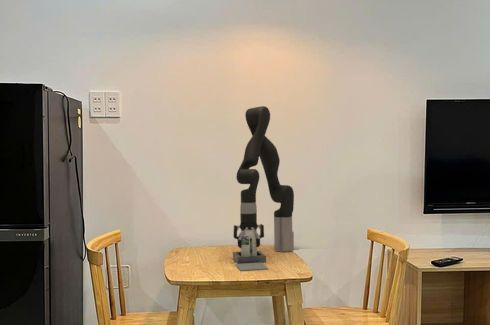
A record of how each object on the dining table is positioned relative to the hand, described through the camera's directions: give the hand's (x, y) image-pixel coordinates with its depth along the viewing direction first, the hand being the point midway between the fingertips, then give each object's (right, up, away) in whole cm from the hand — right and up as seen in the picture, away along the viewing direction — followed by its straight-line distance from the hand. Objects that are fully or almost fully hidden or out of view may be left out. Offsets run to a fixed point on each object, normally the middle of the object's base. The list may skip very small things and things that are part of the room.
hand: (248, 247), depth 226 cm
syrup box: (0, -6, 0) cm, 6 cm away
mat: (+1, -6, -14) cm, 15 cm away
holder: (0, -6, 0) cm, 6 cm away
